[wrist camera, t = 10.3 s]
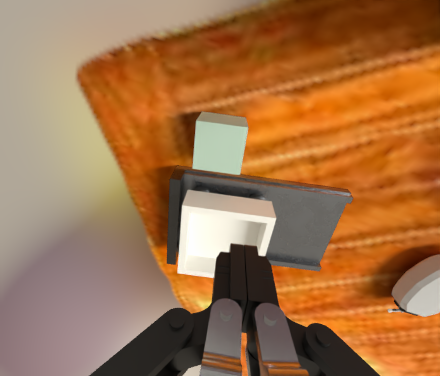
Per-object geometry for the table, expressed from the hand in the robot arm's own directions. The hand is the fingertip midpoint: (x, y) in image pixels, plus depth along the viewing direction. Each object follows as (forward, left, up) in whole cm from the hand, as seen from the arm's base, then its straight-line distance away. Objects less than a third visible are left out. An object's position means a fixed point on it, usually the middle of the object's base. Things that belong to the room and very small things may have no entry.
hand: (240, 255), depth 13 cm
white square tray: (+9, 0, -16) cm, 19 cm away
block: (-2, -2, -18) cm, 18 cm away
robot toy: (+15, +34, -18) cm, 41 cm away
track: (+9, +4, -17) cm, 20 cm away
